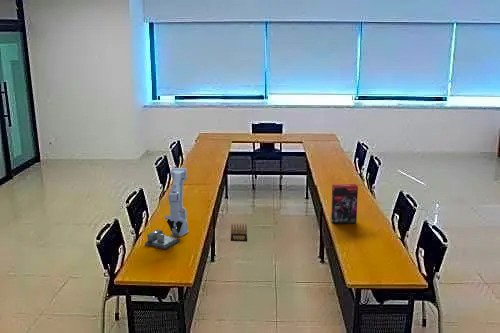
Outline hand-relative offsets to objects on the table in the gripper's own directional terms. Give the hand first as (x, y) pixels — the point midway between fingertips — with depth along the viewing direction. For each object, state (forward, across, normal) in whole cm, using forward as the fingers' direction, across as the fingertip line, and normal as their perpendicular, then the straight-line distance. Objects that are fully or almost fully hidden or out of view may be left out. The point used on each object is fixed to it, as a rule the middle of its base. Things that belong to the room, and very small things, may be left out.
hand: (175, 231), depth 331 cm
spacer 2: (+2, 0, 0) cm, 2 cm away
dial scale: (+8, -8, -4) cm, 12 cm away
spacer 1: (+6, -6, -7) cm, 11 cm away
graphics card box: (+9, +81, +87) cm, 119 cm away
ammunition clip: (+9, +33, +23) cm, 41 cm away
